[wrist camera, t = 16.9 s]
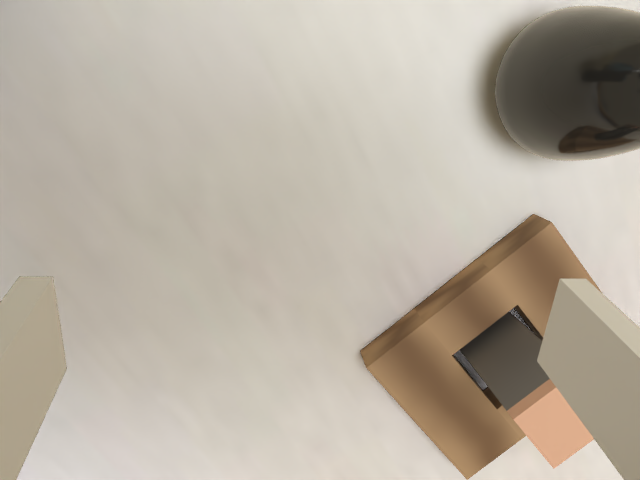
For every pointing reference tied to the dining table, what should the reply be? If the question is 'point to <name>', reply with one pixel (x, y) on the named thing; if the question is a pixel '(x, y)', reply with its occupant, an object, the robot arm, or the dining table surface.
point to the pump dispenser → (573, 84)
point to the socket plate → (459, 329)
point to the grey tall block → (526, 388)
